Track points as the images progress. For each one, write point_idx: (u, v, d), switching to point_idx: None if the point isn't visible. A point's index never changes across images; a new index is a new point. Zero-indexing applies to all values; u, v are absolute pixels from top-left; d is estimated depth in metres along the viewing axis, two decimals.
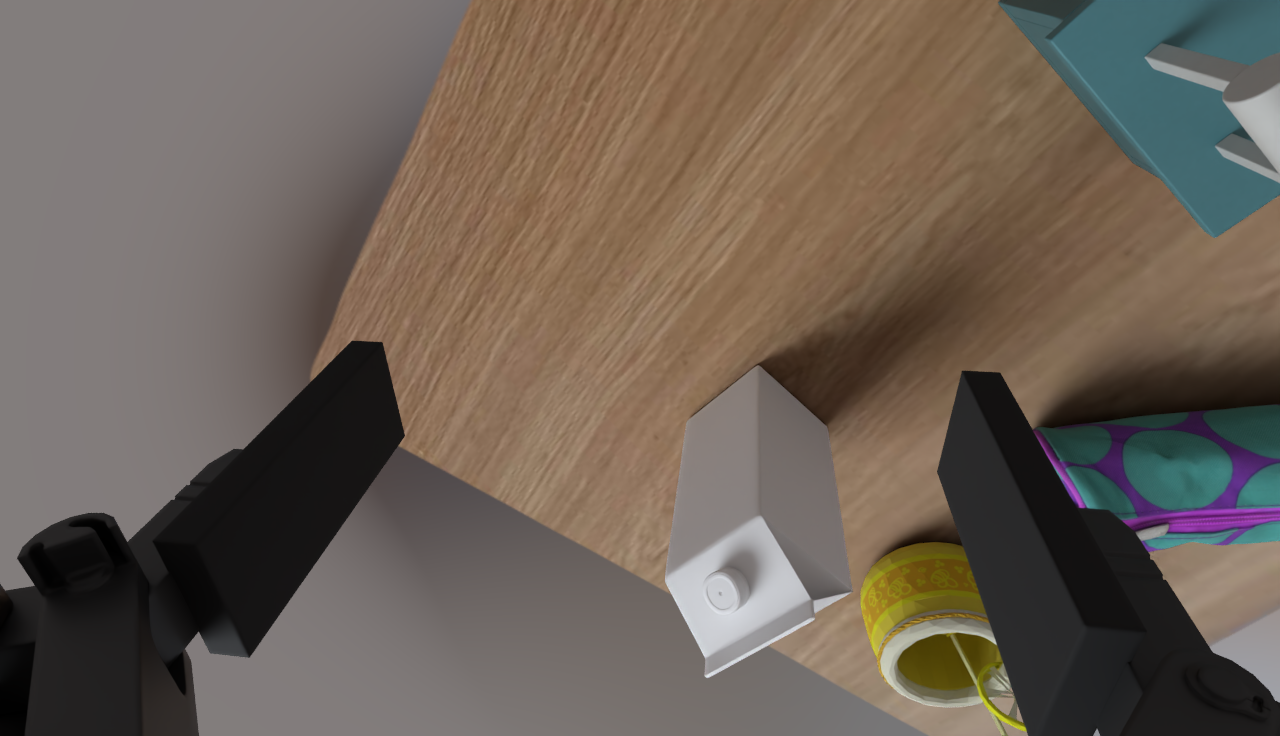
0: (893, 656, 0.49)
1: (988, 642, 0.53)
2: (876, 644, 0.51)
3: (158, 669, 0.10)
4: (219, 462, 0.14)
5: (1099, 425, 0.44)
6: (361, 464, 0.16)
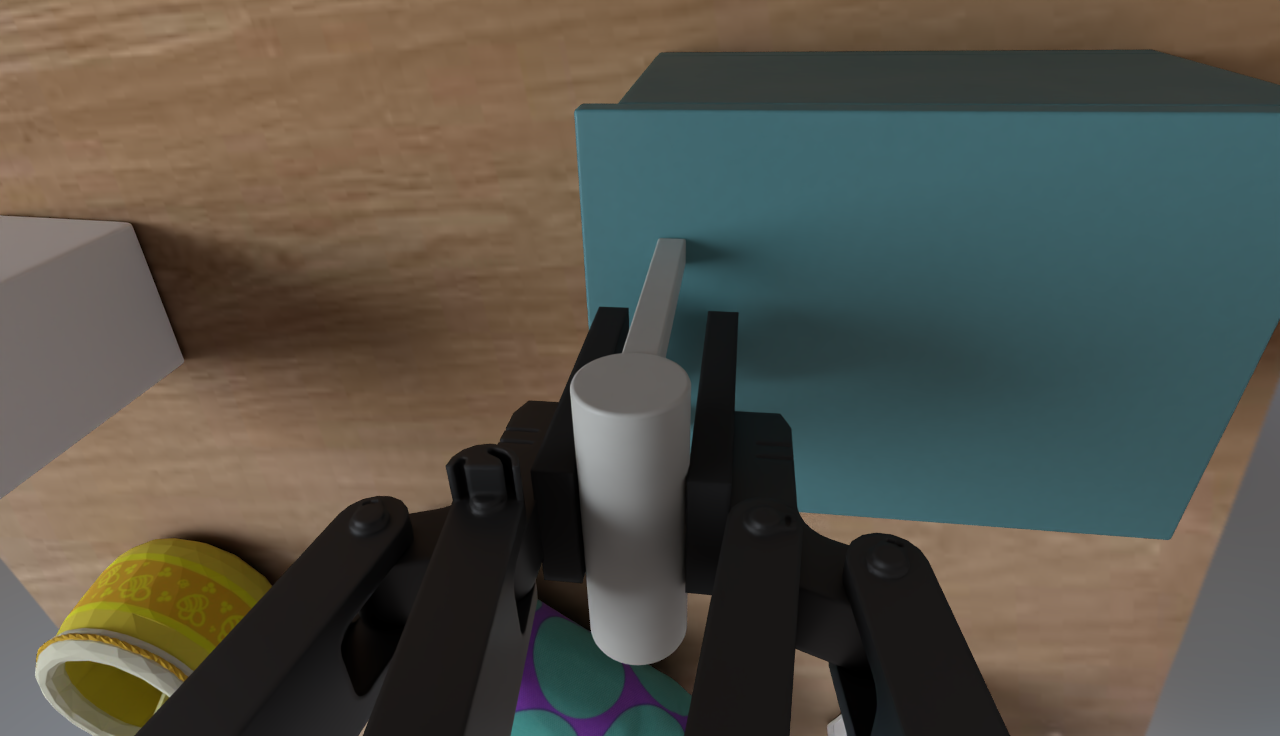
0: (51, 660, 0.35)
1: None
2: (58, 631, 0.37)
3: (509, 609, 0.11)
4: (522, 411, 0.15)
5: None
6: None
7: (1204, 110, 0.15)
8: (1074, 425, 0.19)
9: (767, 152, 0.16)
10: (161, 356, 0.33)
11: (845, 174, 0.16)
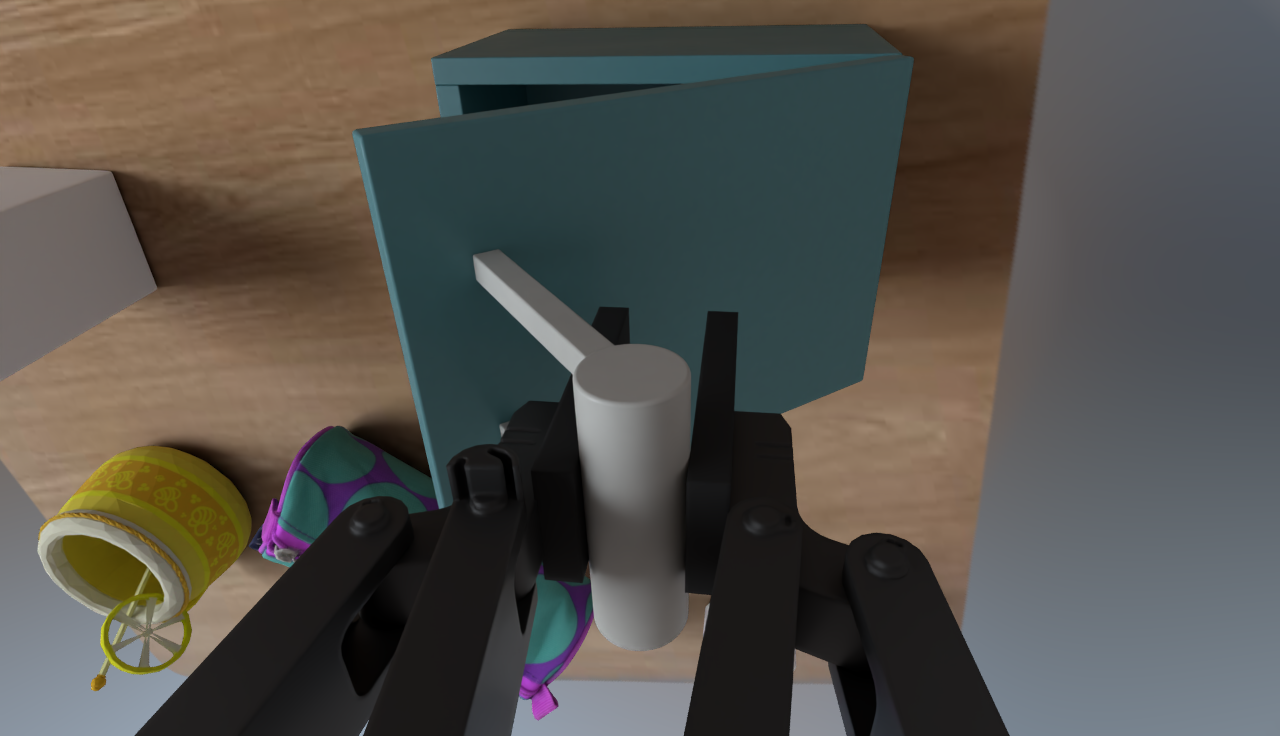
0: (50, 535, 0.43)
1: None
2: (57, 515, 0.45)
3: (509, 609, 0.11)
4: (523, 411, 0.15)
5: (378, 458, 0.43)
6: None
7: (833, 66, 0.21)
8: (802, 318, 0.24)
9: (560, 148, 0.17)
10: (137, 281, 0.41)
11: (625, 155, 0.18)
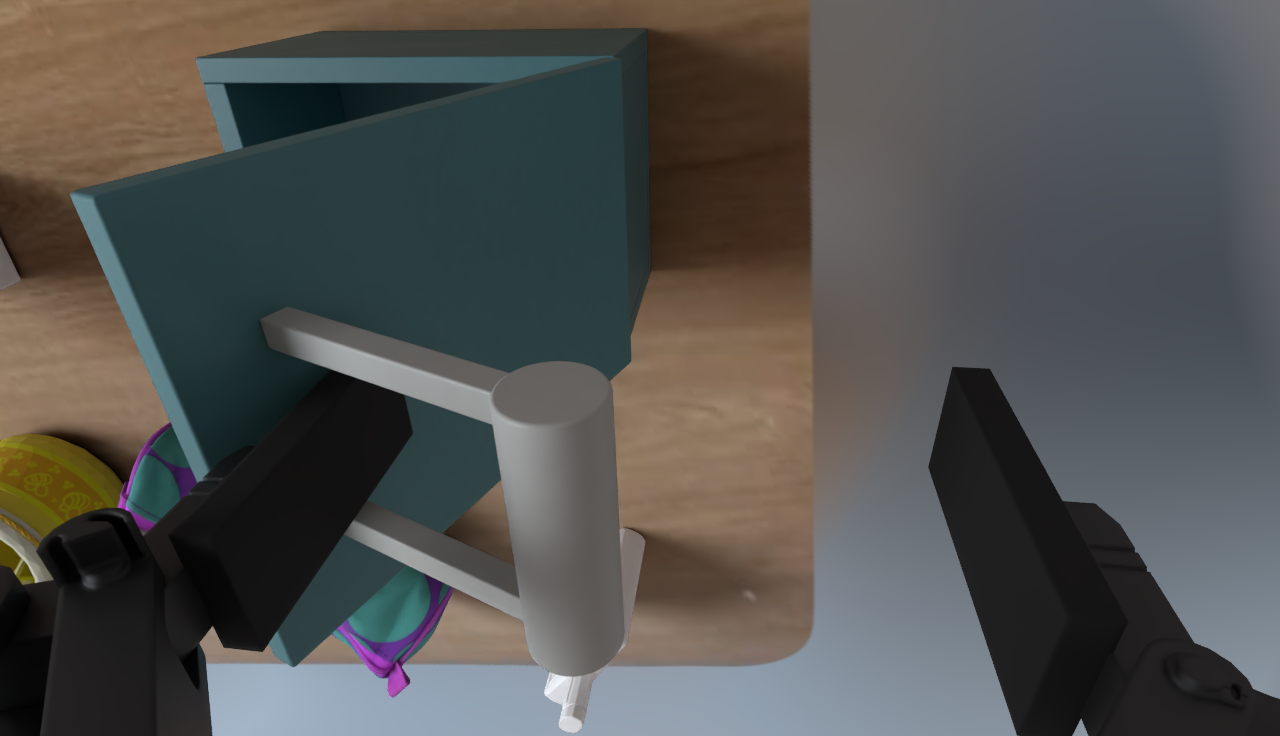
0: None
1: None
2: None
3: (172, 664, 0.10)
4: (232, 458, 0.14)
5: None
6: (371, 461, 0.16)
7: (562, 71, 0.21)
8: (578, 315, 0.25)
9: (335, 181, 0.15)
10: None
11: (401, 181, 0.17)
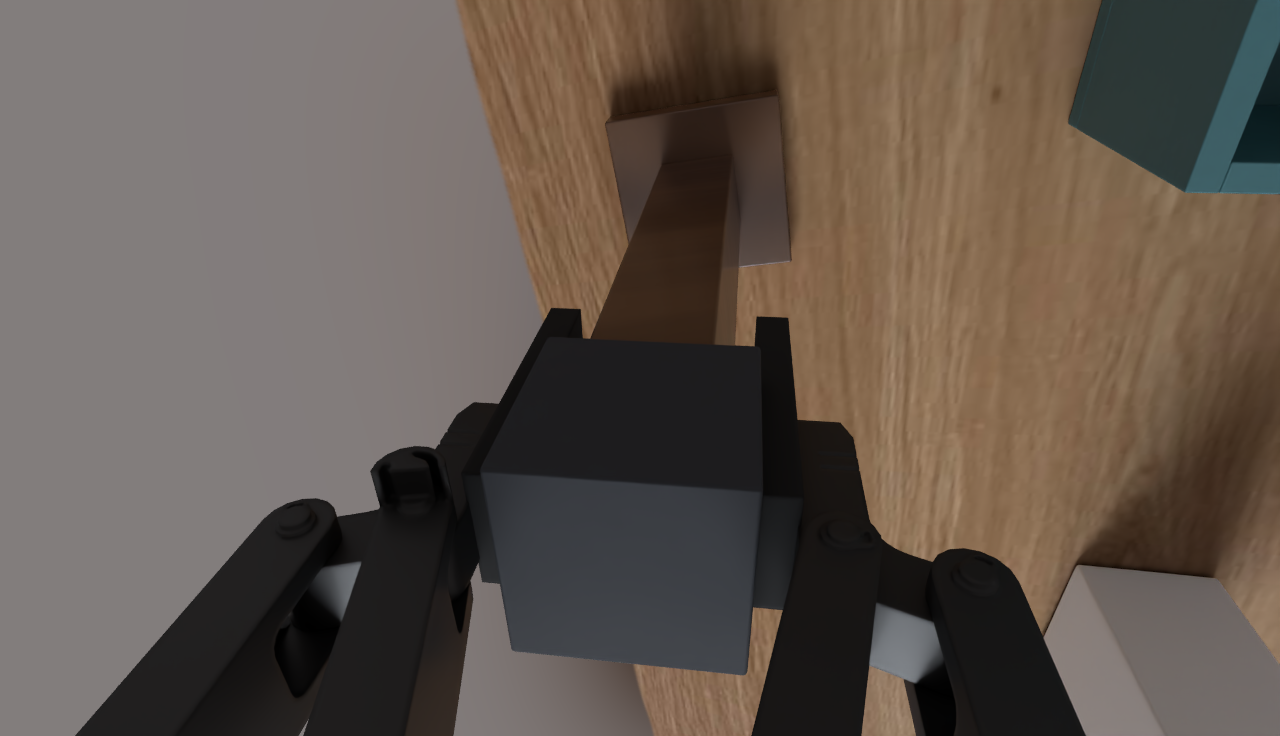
0: None
1: None
2: None
3: (444, 608, 0.11)
4: (466, 413, 0.15)
5: None
6: None
7: None
8: None
9: None
10: (1209, 592, 0.37)
11: None
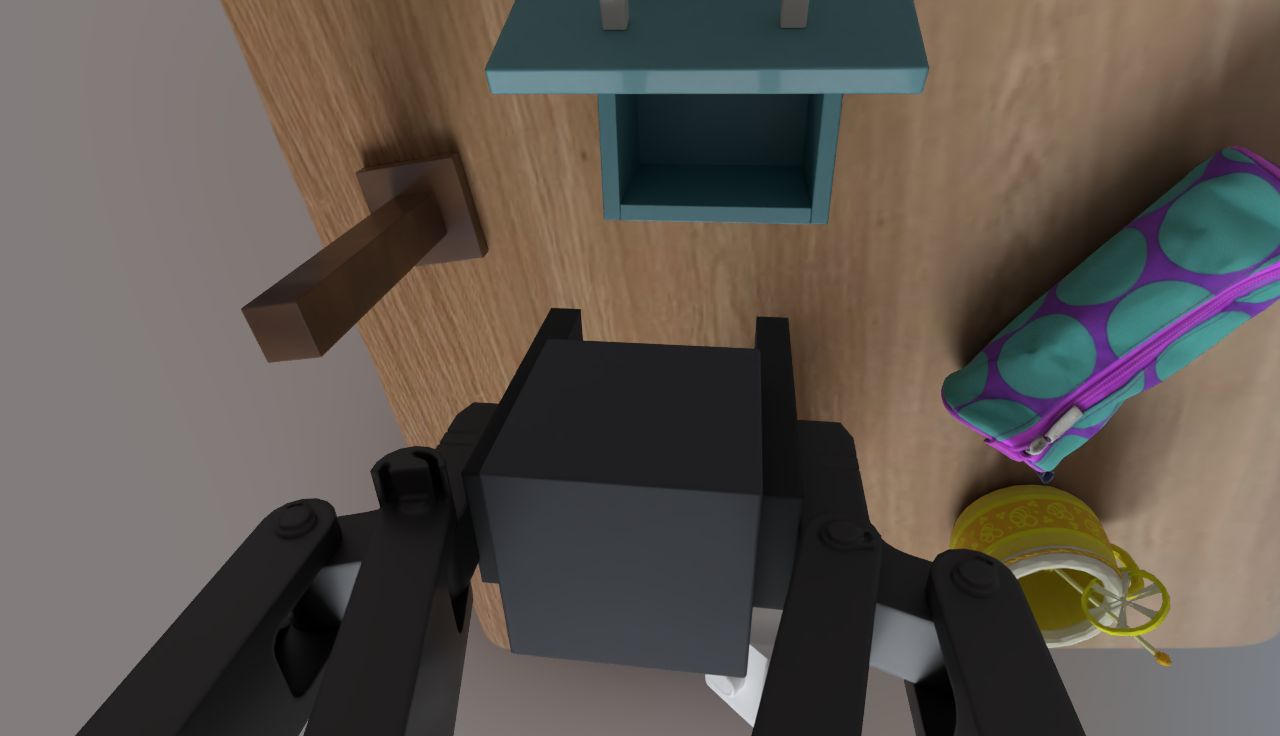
0: None
1: None
2: None
3: (444, 608, 0.11)
4: (466, 413, 0.15)
5: (983, 349, 0.46)
6: None
7: None
8: None
9: None
10: None
11: None
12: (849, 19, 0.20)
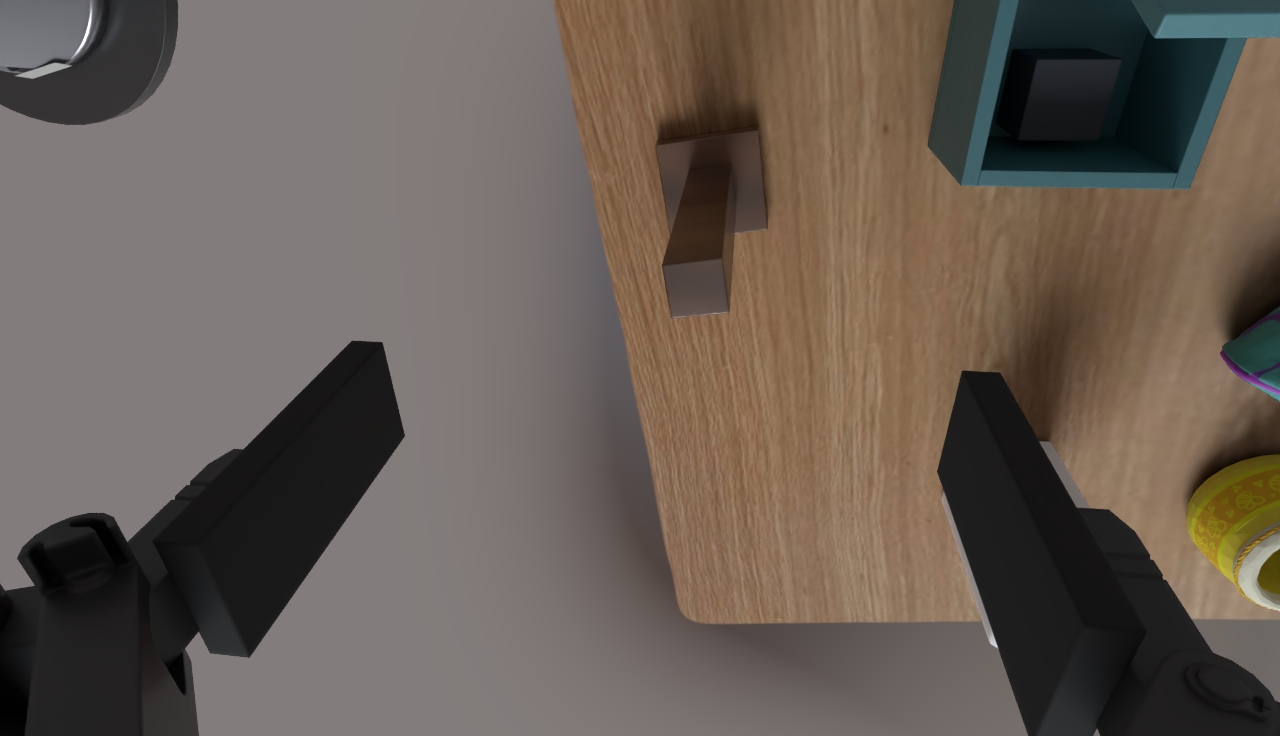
0: (1252, 588, 0.52)
1: None
2: (1234, 582, 0.54)
3: (158, 669, 0.10)
4: (219, 462, 0.14)
5: (1272, 317, 0.47)
6: (361, 464, 0.16)
7: None
8: None
9: None
10: None
11: None
12: None
